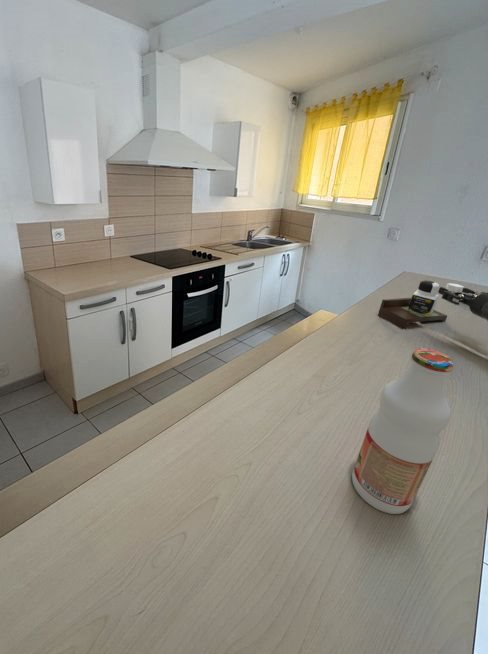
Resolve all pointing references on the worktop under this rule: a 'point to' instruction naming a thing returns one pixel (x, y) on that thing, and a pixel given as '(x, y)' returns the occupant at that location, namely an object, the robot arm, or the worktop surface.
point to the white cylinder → (455, 287)
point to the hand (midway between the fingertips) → (451, 290)
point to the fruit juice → (404, 433)
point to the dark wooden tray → (404, 313)
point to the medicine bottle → (424, 298)
